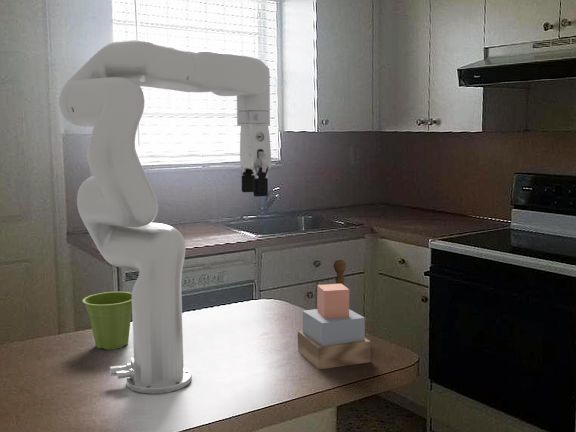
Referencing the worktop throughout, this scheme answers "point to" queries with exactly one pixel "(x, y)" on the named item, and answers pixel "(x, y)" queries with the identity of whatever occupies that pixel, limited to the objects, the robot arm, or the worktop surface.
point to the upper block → (333, 328)
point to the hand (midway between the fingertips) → (254, 194)
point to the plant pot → (110, 318)
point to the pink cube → (333, 301)
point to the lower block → (334, 352)
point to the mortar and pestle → (340, 271)
